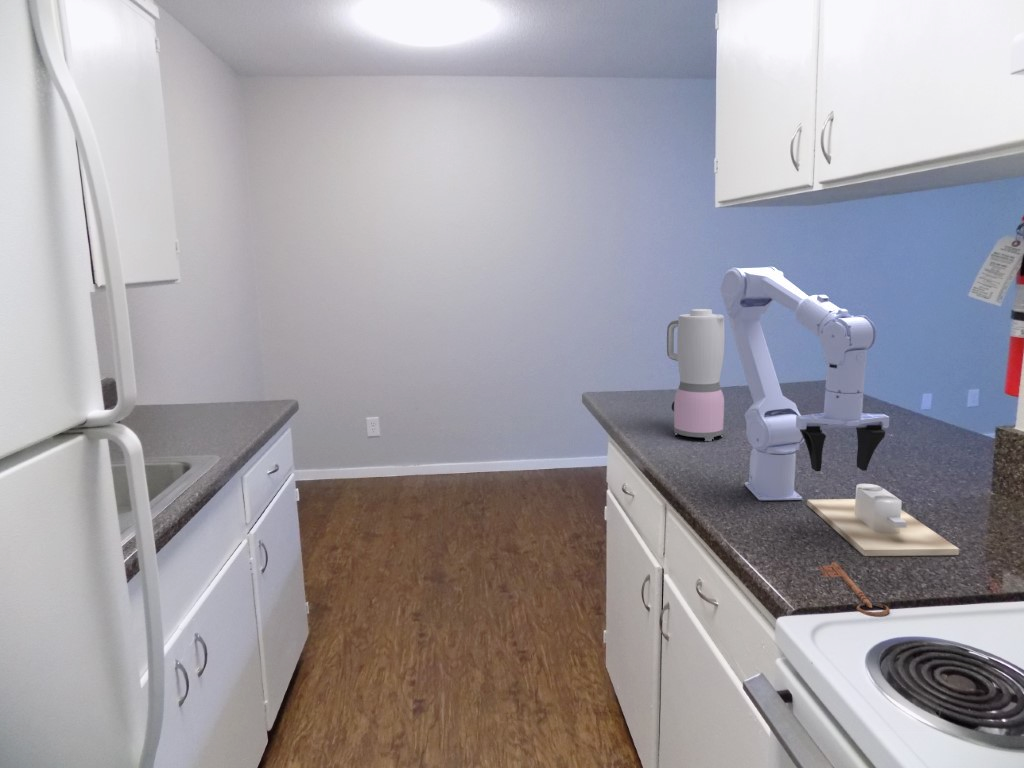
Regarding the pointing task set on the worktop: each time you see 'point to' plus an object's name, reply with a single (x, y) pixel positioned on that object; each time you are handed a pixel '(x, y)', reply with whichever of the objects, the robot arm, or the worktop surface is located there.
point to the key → (854, 588)
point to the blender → (698, 373)
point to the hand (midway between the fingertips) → (838, 469)
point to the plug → (878, 509)
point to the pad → (874, 543)
